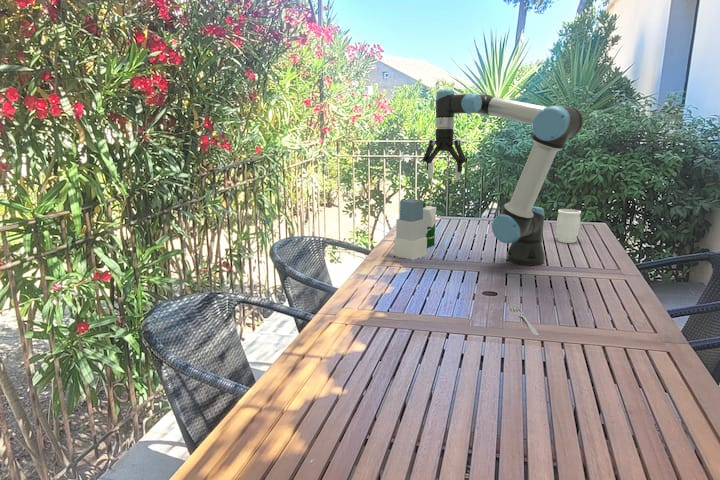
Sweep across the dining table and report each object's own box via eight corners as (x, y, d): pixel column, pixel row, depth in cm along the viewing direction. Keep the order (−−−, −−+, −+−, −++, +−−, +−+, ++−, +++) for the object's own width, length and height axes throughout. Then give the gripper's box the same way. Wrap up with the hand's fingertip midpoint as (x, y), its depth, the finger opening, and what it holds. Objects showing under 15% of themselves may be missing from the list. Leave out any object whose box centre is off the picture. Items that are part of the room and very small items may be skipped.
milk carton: (420, 242, 245) (421, 200, 240) (437, 244, 240) (438, 202, 235) (411, 245, 238) (412, 203, 233) (428, 248, 233) (429, 205, 228)
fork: (535, 341, 139) (536, 335, 139) (508, 308, 163) (508, 303, 162) (547, 341, 139) (548, 335, 139) (518, 308, 163) (518, 303, 162)
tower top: (425, 237, 220) (426, 219, 218) (412, 241, 214) (413, 222, 212) (409, 234, 226) (409, 216, 224) (396, 237, 220) (396, 219, 218)
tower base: (426, 255, 222) (427, 237, 220) (412, 259, 215) (412, 241, 213) (408, 251, 229) (409, 233, 227) (394, 255, 222) (394, 237, 220)
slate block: (422, 219, 219) (423, 200, 217) (412, 221, 214) (413, 202, 212) (409, 217, 223) (410, 198, 221) (399, 219, 218) (400, 200, 216)
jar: (581, 244, 240) (585, 212, 236) (559, 244, 240) (562, 212, 237) (573, 238, 250) (576, 208, 247) (551, 238, 251) (554, 208, 247)
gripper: (415, 128, 221) (414, 178, 225) (466, 128, 205) (465, 181, 209) (424, 128, 226) (424, 176, 231) (475, 127, 210) (474, 179, 215)
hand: (443, 178), depth 220 cm, fingers open, 13 cm apart
